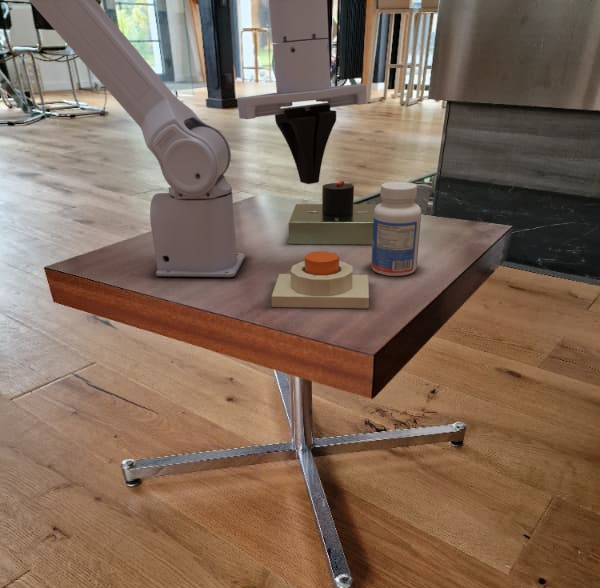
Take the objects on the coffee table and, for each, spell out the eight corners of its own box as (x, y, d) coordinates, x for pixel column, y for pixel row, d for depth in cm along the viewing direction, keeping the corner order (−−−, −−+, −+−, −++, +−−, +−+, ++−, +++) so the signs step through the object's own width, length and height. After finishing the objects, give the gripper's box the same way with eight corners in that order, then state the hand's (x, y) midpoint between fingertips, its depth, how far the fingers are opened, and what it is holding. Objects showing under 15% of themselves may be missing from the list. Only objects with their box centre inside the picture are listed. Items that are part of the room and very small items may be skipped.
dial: (348, 216, 79) (349, 187, 77) (318, 214, 80) (318, 185, 78) (356, 209, 82) (357, 181, 80) (327, 207, 84) (327, 179, 82)
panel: (289, 244, 79) (288, 220, 77) (296, 223, 88) (295, 202, 86) (383, 244, 78) (385, 221, 76) (380, 224, 87) (381, 203, 85)
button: (303, 277, 59) (303, 261, 58) (306, 266, 62) (305, 251, 61) (338, 278, 59) (338, 261, 58) (339, 267, 62) (339, 251, 61)
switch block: (271, 307, 59) (270, 279, 57) (279, 283, 65) (278, 258, 63) (368, 308, 58) (370, 280, 57) (367, 285, 64) (368, 258, 63)
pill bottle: (382, 260, 72) (387, 178, 67) (422, 266, 69) (431, 182, 64) (363, 272, 68) (367, 187, 63) (405, 280, 65) (413, 191, 60)
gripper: (341, 39, 64) (345, 168, 70) (219, 49, 58) (237, 187, 65) (377, 34, 58) (377, 175, 65) (246, 45, 53) (263, 196, 60)
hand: (309, 182), depth 65 cm, fingers closed
